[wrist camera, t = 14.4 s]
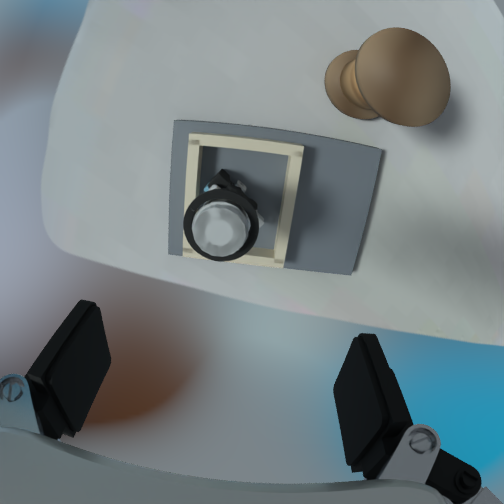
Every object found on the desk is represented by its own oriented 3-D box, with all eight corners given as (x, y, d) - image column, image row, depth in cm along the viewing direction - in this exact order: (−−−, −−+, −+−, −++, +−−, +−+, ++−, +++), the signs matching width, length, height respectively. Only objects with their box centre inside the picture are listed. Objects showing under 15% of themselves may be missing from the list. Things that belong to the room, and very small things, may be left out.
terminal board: (377, 148, 28) (389, 152, 26) (348, 270, 35) (355, 284, 32) (177, 119, 28) (168, 121, 25) (171, 249, 34) (163, 262, 31)
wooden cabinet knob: (395, 62, 24) (454, 48, 14) (386, 125, 27) (443, 138, 18) (328, 44, 24) (364, 14, 14) (320, 110, 27) (352, 112, 17)
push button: (280, 202, 30) (289, 245, 21) (242, 238, 32) (235, 292, 23) (230, 154, 28) (215, 177, 19) (193, 194, 30) (164, 233, 21)
